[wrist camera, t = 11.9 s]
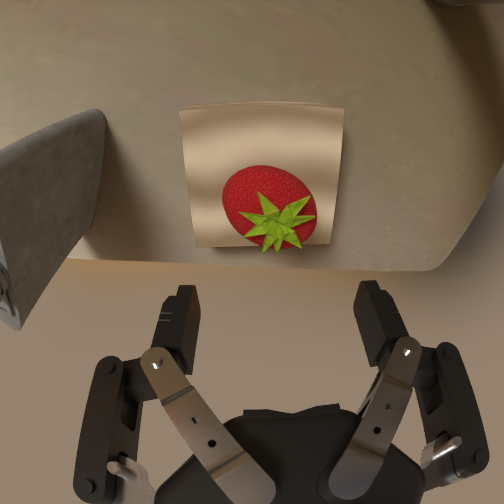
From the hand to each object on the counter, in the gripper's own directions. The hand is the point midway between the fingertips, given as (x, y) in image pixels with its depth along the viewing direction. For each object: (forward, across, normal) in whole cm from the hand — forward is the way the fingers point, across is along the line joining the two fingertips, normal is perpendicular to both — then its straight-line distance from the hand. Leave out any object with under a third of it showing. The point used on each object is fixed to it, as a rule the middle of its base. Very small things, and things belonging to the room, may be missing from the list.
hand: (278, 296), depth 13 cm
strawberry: (+15, 0, 0) cm, 15 cm away
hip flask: (+18, +20, -1) cm, 27 cm away
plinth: (+18, 0, 0) cm, 18 cm away
